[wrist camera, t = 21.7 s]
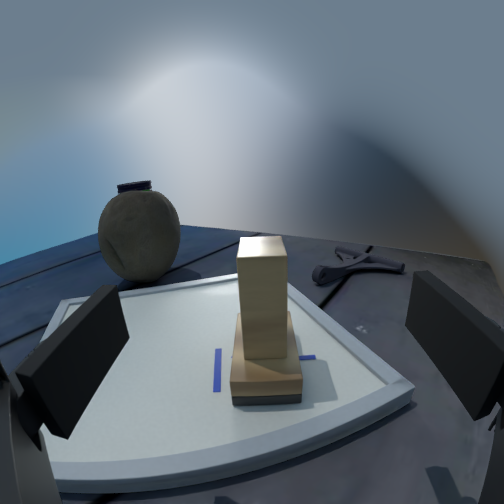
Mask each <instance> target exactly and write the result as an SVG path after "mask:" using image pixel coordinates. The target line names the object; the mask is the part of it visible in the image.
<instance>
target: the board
mask: <svg viewBox="0 0 504 504" xmlns="http://www.w3.org/2000/svg"><path fill="white" fill-rule="evenodd" d="M118 293H119V297H120V302H121V306H122V310H123V314H124V318H125V322H126V325H127V329H128V333H129V336H130V338H129V340H128V342H127V343H126V345H125V346H124V348H123V349H122V351H121V352H120V354H119V356H118V357H117V359H116V360H115V362H114V363H113V365H112V367H111V368H110V370H109V371H108V373H107V375H106V376H105V378H104V379H103V381H102V383H101V384H100V386H99V388H98V389H97V391H96V393H95V394H94V396H93V398H92V399H91V401H90V403H89V404H88V406H87V408H86V409H85V411H84V413H83V414H82V416H81V418H80V420H79V421H78V423H77V425H76V427H75V428H74V430H73V432H72V434H71V435H70V437H69V439H68V440H67V439H64V438H61V437H58V436H55V435H52V434H51V433H50V432H49V430H48V429H47V427H46V426H45V424H44V423H43V425H42V426H41V428H40V430H41V432H42V433H43V435H44V439H45V444H46V448H47V452H48V456H49V460H50V464H51V468H52V472H53V475H54V479H55V482H56V485H57V488H58V491H59V492H69V493H125V492H140V491H151V490H160V489H168V488H175V487H182V486H188V485H194V484H199V483H205V482H210V481H214V480H219V479H223V478H228V477H232V476H236V475H240V474H243V473H247V472H251V471H254V470H258V469H261V468H265V467H268V466H271V465H274V464H277V463H280V462H283V461H286V460H289V459H292V458H295V457H298V456H300V455H303V454H306V453H308V452H311V451H313V450H316V449H318V448H321V447H323V446H326V445H328V444H330V443H333V442H335V441H337V440H339V439H342V438H344V437H346V436H348V435H350V434H352V433H355V432H357V431H359V430H361V429H363V428H365V427H367V426H369V425H371V424H373V423H375V422H376V421H378V420H380V419H382V418H384V417H386V416H388V415H389V414H391V413H393V412H395V411H396V410H398V409H400V408H402V407H403V406H405V405H407V404H408V403H410V400H411V398H412V395H413V392H414V389H415V386H414V385H413V384H412V383H410V382H409V381H408V380H407V379H405V378H404V377H403V376H402V375H401V374H399V373H398V372H397V371H396V370H394V369H393V368H392V367H391V366H390V365H388V364H387V363H386V362H385V361H383V360H382V359H381V358H380V357H379V356H377V355H376V354H375V353H374V352H372V351H371V350H370V349H369V348H368V347H366V346H365V345H364V344H363V343H361V342H360V341H359V340H358V339H356V338H355V337H354V336H353V335H352V334H350V333H349V332H348V331H347V330H345V329H344V328H343V327H342V326H341V325H339V324H338V323H337V322H336V321H334V320H333V319H332V318H331V317H330V316H328V315H327V314H326V313H325V312H324V311H322V310H321V309H320V308H319V307H317V306H316V305H315V304H314V303H313V302H311V301H310V300H309V299H308V298H306V297H305V296H304V295H303V294H302V293H300V292H299V291H298V290H297V289H295V288H294V287H293V286H292V285H291V284H289V283H288V311H290V314H291V319H292V324H293V329H294V334H295V339H296V344H297V350H298V355H299V360H300V365H301V370H302V376H303V389H302V402H301V403H295V404H279V405H252V406H233V405H232V398H231V390H230V383H229V381H230V373H231V364H232V356H233V348H234V339H235V331H236V323H237V314H238V313H240V302H239V288H238V274H232V275H226V276H219V277H213V278H207V279H201V280H195V281H188V282H182V283H176V284H169V285H163V286H156V287H149V288H143V289H136V290H129V291H123V292H118ZM89 297H90V296H88V297H81V298H73V299H66V300H62V301H61V303H60V304H59V306H58V308H57V310H56V312H55V314H54V316H53V317H52V319H51V321H50V323H49V325H48V327H47V329H46V331H45V333H44V335H43V337H42V339H41V341H43V340H45V339H46V338H48V337H49V336H50V335H51V334H52V333H53V332H54V331H55V330H56V329H57V328H58V327H59V326H60V325H61V324H62V323H63V322H64V321H65V320H66V319H67V318H68V317H69V316H70V315H71V314H72V313H73V312H74V311H75V310H76V309H77V308H78V307H80V306H81V305H82V304H83V303H84V302H85V301H86V300H87V299H88V298H89ZM41 341H40V342H41Z"/></svg>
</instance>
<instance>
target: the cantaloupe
mask: <svg viewBox="0 0 504 504" xmlns="http://www.w3.org/2000/svg"><path fill="white" fill-rule="evenodd" d="M98 240H99V246H100V249H101V253H102V256H103V258H104V260H105V261H106V263H107V264H108V266H109V267H110V268H111V269H112V270H113V271H114V272H115V273H116V274H117V275H119V276H120V277H122V278H124V279H126V280H128V281H132V282H139V283H149V282H153V281H155V280H157V279H159V278H160V277H161V276H163V275H164V274H165V273H166V272H167V270H168V269H169V268H170V267H171V265H172V264H173V262H174V260H175V258H176V255H177V252H178V248H179V243H180V222H179V218H178V215H177V212H176V210H175V208H174V207H173V205H172V203H171V202H170V201H169V200H168V199H167V198H166V197H165V196H164V195H162V194H161V193H159V192H156V191H128V192H123V193H121V194H119V195H117V196H116V197H114V198H112V199H111V200H110V201H109V202H108V204H107V205H106V207H105V208H104V210H103V212H102V214H101V217H100V220H99V227H98Z"/></svg>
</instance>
